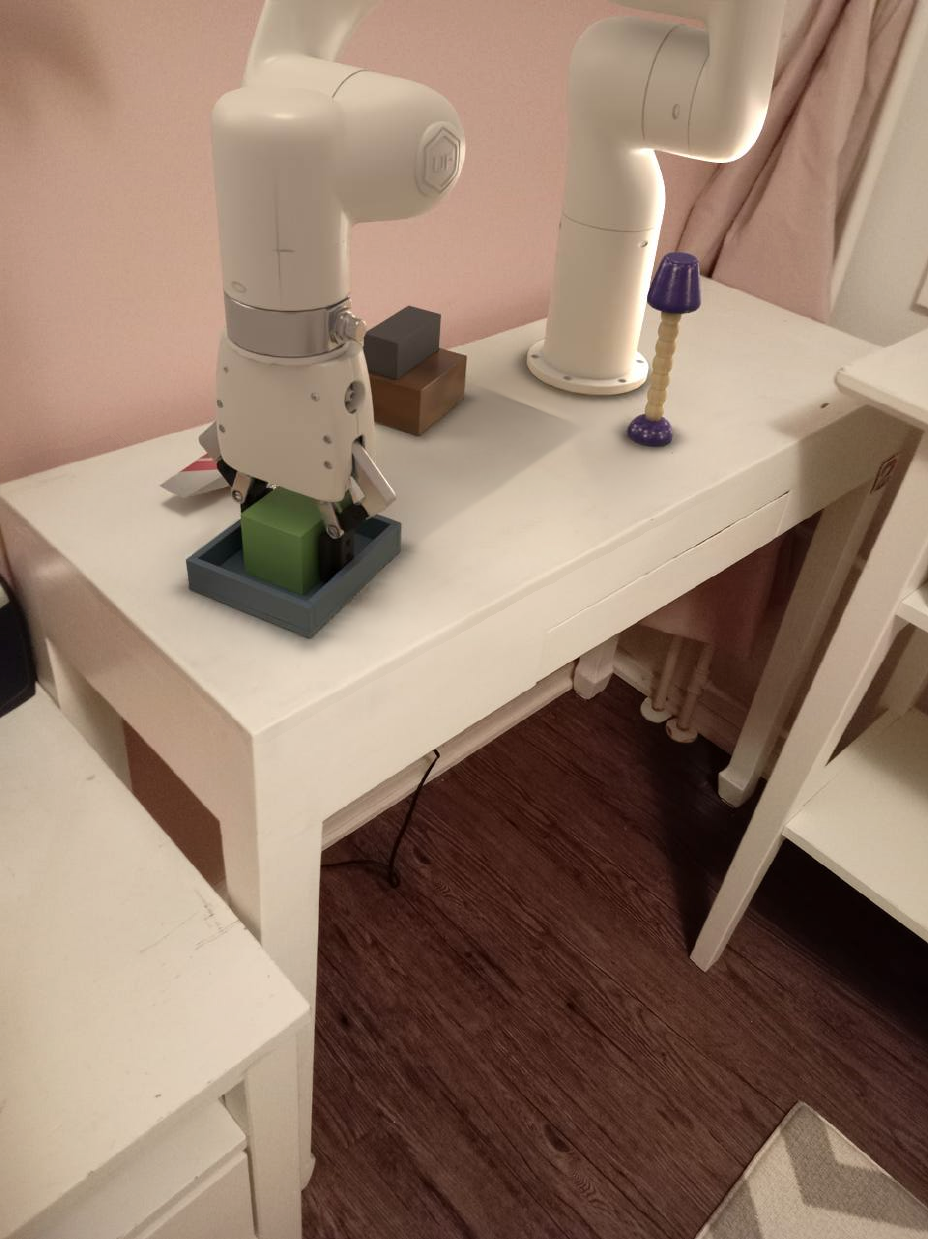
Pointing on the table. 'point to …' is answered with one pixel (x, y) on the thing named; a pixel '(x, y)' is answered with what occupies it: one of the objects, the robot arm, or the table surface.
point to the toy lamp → (666, 340)
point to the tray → (226, 581)
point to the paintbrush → (196, 479)
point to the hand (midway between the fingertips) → (297, 556)
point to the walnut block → (419, 392)
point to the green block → (283, 539)
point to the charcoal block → (402, 342)
